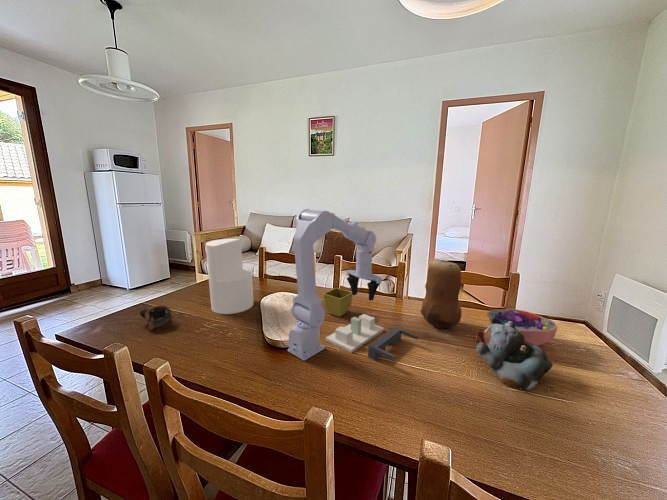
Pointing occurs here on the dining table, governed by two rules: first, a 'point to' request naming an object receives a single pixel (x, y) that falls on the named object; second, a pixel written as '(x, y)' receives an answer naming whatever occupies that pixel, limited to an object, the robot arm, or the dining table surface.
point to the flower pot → (337, 301)
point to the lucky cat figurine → (512, 355)
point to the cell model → (527, 324)
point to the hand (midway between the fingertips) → (362, 297)
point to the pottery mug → (156, 316)
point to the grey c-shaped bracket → (387, 343)
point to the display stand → (355, 333)
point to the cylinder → (228, 277)
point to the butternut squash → (442, 294)
